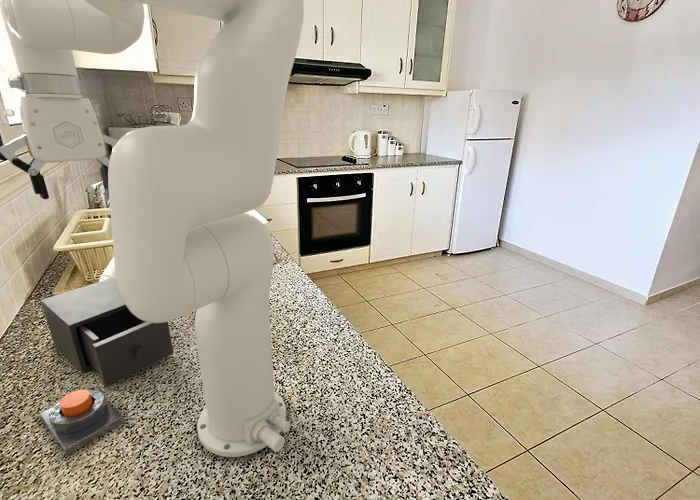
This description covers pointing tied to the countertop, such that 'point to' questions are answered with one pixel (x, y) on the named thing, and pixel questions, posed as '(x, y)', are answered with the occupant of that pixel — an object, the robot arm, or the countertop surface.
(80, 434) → the control block
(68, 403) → the button
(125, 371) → the dark grey drawer
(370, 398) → the countertop surface
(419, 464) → the countertop surface
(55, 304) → the grey drawer box
